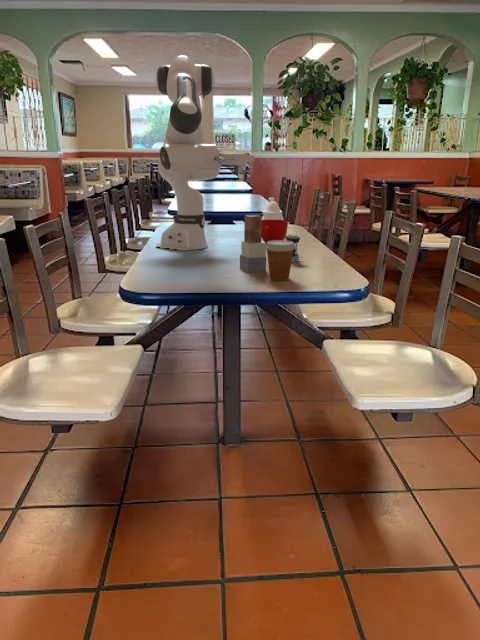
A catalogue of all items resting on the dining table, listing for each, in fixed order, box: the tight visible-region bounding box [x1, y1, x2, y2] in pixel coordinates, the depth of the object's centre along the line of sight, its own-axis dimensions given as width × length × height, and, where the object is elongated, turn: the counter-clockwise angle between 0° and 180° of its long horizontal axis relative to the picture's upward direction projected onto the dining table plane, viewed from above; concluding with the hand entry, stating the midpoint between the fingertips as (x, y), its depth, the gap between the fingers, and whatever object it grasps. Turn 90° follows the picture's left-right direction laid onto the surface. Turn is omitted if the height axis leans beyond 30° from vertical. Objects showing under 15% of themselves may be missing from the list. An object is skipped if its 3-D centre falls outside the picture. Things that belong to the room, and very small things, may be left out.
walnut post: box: [243, 214, 263, 243], centre depth 172 cm, size 4×4×9 cm
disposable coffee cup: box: [266, 239, 296, 282], centre depth 163 cm, size 10×10×12 cm
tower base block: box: [239, 254, 267, 273], centre depth 176 cm, size 7×7×5 cm
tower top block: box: [240, 240, 267, 258], centre depth 174 cm, size 6×6×5 cm
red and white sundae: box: [261, 197, 285, 220], centre depth 245 cm, size 13×13×18 cm
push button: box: [285, 234, 303, 263], centre depth 188 cm, size 7×5×10 cm
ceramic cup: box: [261, 219, 288, 245], centre depth 223 cm, size 13×17×10 cm
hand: (247, 157), depth 169 cm, fingers open, 8 cm apart
